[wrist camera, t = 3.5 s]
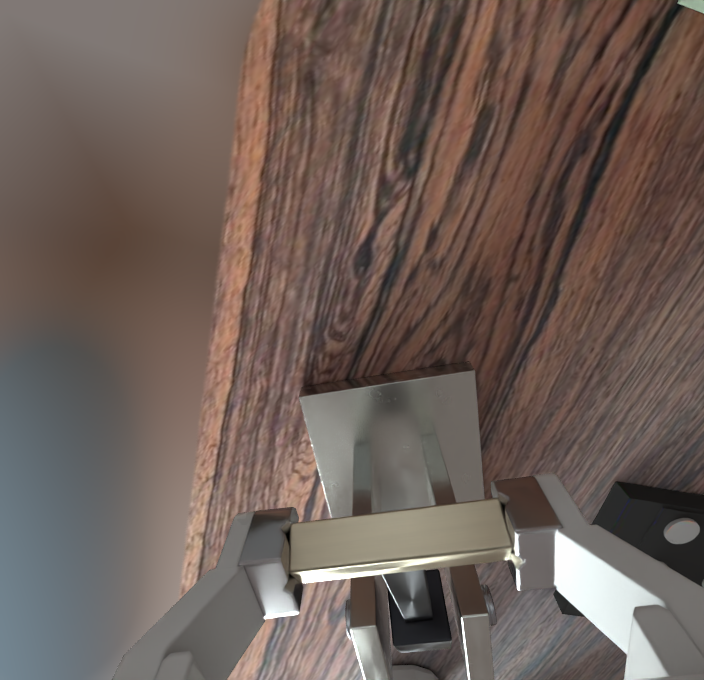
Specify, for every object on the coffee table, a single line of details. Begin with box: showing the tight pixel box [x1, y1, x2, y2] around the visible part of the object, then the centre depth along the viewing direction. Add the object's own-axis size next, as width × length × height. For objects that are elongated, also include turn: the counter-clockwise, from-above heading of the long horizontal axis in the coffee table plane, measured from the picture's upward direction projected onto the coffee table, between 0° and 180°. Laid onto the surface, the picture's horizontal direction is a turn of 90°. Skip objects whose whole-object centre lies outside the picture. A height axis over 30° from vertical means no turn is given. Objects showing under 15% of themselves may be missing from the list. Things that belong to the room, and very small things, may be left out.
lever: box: [289, 498, 513, 653], centre depth 14 cm, size 12×5×2 cm, turn 11°
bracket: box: [299, 361, 497, 680], centre depth 21 cm, size 12×10×12 cm
